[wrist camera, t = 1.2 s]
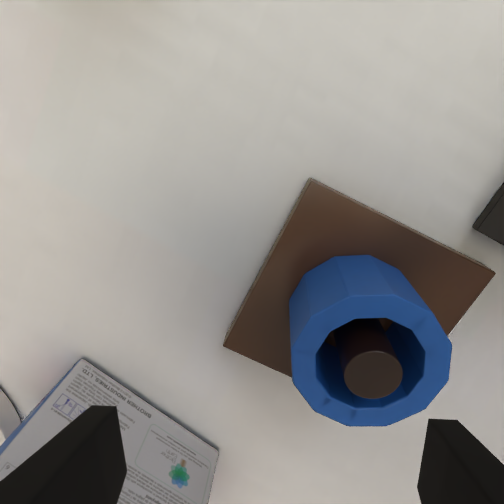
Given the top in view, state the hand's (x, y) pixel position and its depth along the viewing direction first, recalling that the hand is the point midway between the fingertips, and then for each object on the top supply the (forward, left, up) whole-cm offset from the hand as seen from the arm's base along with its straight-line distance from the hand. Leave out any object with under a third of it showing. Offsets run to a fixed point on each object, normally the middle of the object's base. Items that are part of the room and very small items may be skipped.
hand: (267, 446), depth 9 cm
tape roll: (-4, -1, -9) cm, 10 cm away
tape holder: (-4, -1, -10) cm, 11 cm away
